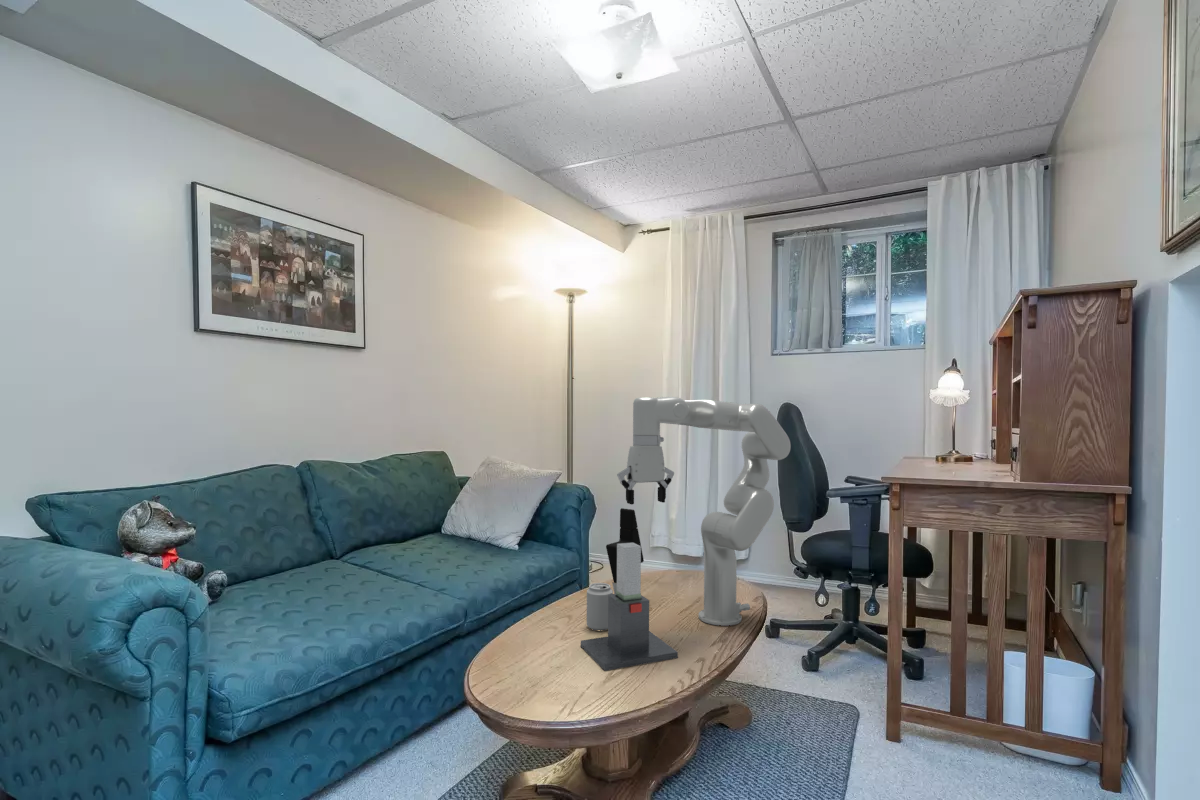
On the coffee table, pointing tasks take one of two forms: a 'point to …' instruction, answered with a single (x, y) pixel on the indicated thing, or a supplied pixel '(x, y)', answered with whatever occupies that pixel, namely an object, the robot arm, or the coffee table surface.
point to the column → (628, 572)
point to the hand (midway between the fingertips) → (645, 502)
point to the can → (598, 606)
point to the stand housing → (627, 637)
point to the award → (623, 540)
